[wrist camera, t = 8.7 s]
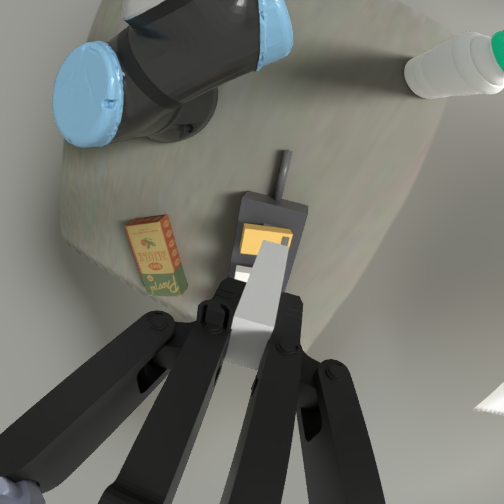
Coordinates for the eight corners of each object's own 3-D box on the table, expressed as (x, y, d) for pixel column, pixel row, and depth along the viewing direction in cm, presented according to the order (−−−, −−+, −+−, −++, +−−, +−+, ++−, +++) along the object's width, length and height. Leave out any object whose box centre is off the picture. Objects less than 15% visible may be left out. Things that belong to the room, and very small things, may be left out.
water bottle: (448, 89, 29) (554, 83, 7) (419, 106, 32) (523, 105, 10) (424, 52, 27) (516, 11, 5) (394, 68, 30) (479, 24, 8)
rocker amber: (239, 247, 42) (240, 253, 40) (244, 223, 40) (245, 229, 38) (283, 252, 43) (286, 258, 41) (290, 229, 41) (293, 235, 39)
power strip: (226, 307, 56) (219, 322, 52) (257, 143, 40) (250, 145, 36) (273, 320, 55) (269, 337, 51) (320, 158, 39) (322, 162, 35)
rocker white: (232, 285, 46) (232, 292, 44) (236, 265, 44) (235, 271, 42) (274, 291, 46) (274, 298, 44) (279, 272, 44) (280, 279, 43)
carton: (169, 213, 49) (158, 221, 45) (189, 286, 56) (181, 298, 52) (134, 218, 51) (122, 226, 47) (156, 286, 58) (147, 297, 54)
